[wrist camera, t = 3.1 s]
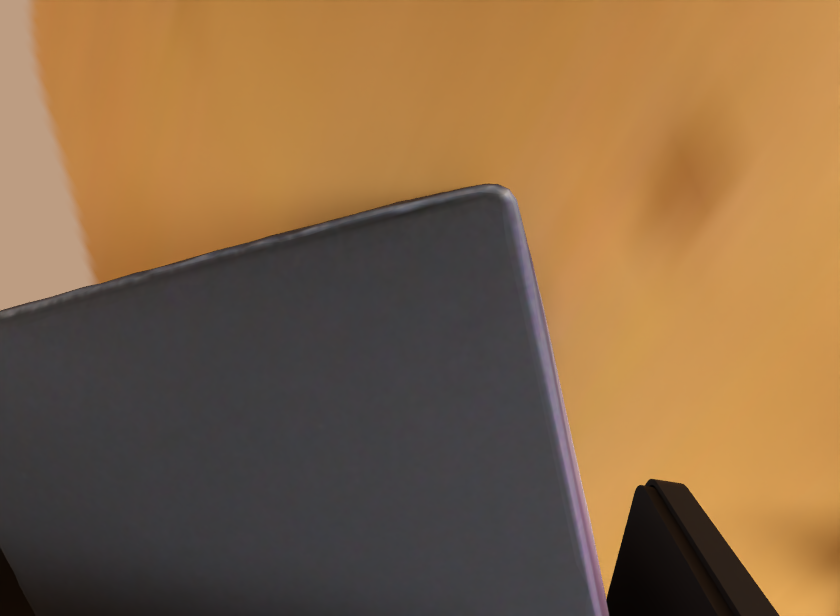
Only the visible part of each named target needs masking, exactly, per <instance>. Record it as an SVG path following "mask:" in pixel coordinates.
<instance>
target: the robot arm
mask: <svg viewBox="0 0 840 616" xmlns="http://www.w3.org/2000/svg"><path fill="white" fill-rule="evenodd" d="M606 602H607V607H608V612H609V616H779V614H778V613H777V612H776V610H775V609H774V607H773V606H772V605H771V603H770V602H769V600H768V599H767V598H766V596H765V595H764V594H763V592H762V591H761V589H760V588H759V587H758V585H757V584H756V582H755V581H754V580H753V578H752V577H751V575H750V574H749V573H748V571H747V570H746V569H745V567H744V566H743V564H742V563H741V562H740V560H739V559H738V557H737V556H736V555H735V553H734V552H733V550H732V549H731V548H730V546H729V545H728V544H727V542H726V541H725V539H724V538H723V537H722V535H721V534H720V532H719V531H718V530H717V528H716V527H715V525H714V524H713V523H712V521H711V520H710V519H709V517H708V516H707V514H706V513H705V512H704V510H703V509H702V507H701V506H700V505H699V503H698V502H697V500H696V499H695V498H694V496H693V495H692V494H691V492H690V491H689V489H688V488H687V487H686V486H685V485H684V484H681V483H674V482H668V481H662V480H656V479H650V480H648V482H647V483H646V485H645V486H643V485H639V486H638V487H637V488H636V491H635V494H634V497H633V501H632V505H631V509H630V513H629V516H628V520H627V524H626V528H625V531H624V535H623V539H622V543H621V546H620V550H619V554H618V558H617V561H616V565H615V569H614V573H613V577H612V580H611V584H610V588H609V592H608V595H607V600H606ZM0 616H36V615H35V614H34V612H33V610H32V608H31V606H30V604H29V602H28V601H27V599H26V597H25V595H24V593H23V591H22V589H21V588H20V586H19V583H18V581H17V578H16V575H15V574H14V572H13V570H12V568H11V566H10V564H9V563H8V561H7V559H6V557H5V555H4V553H3V551H2V550H1V548H0Z"/></svg>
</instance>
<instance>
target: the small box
mask: <svg viewBox="0 0 840 616" xmlns="http://www.w3.org/2000/svg"><path fill="white" fill-rule="evenodd" d="M0 548H1V550H2V551H3V553H4V555H5V557H6V559H7V561H8V563H9V564H10V566H11V568H12V570H13V572H14V574H15V575H16V578H17V581H18V583H19V586H20V588H21V589H22V591H23V593H24V595H25V597H26V599H27V601H28V602H29V604H30V606H31V608H32V610H33V612H34V614H35V615H36V616H609V612H608V607H607V602H606V596H605V591H604V586H603V581H602V576H601V571H600V566H599V561H598V556H597V551H596V546H595V541H594V536H593V531H592V526H591V521H590V517H589V512H588V508H587V504H586V499H585V495H584V490H583V486H582V481H581V477H580V472H579V468H578V463H577V459H576V454H575V450H574V445H573V441H572V436H571V432H570V427H569V423H568V418H567V413H566V409H565V404H564V400H563V395H562V390H561V386H560V381H559V376H558V372H557V367H556V363H555V358H554V353H553V349H552V344H551V340H550V335H549V330H548V326H547V321H546V316H545V312H544V307H543V303H542V299H541V295H540V291H539V287H538V283H537V279H536V275H535V271H534V266H533V262H532V258H531V254H530V251H529V248H528V244H527V239H526V235H525V231H524V227H523V223H522V219H521V215H520V211H519V207H518V203H517V200H516V198H515V197H514V195H513V194H512V193H511V191H510V190H509V189H507V188H505V187H503V186H501V185H499V184H482V185H476V186H471V187H465V188H461V189H457V190H453V191H449V192H442V193H438V194H434V195H429V196H425V197H420V198H415V199H411V200H406V201H401V202H396V203H393V204H390V205H386V206H382V207H379V208H375V209H372V210H368V211H364V212H360V213H357V214H353V215H350V216H346V217H342V218H338V219H334V220H330V221H327V222H324V223H320V224H316V225H312V226H308V227H304V228H300V229H296V230H292V231H288V232H284V233H280V234H276V235H272V236H268V237H265V238H262V239H259V240H255V241H252V242H249V243H245V244H241V245H237V246H233V247H229V248H225V249H221V250H217V251H213V252H210V253H207V254H203V255H200V256H196V257H193V258H190V259H186V260H183V261H179V262H176V263H172V264H169V265H166V266H162V267H158V268H155V269H151V270H147V271H142V272H137V273H134V274H130V275H127V276H124V277H120V278H117V279H114V280H111V281H107V282H104V283H101V284H96V285H91V286H86V287H82V288H79V289H76V290H72V291H69V292H66V293H62V294H59V295H56V296H53V297H49V298H45V299H42V300H37V301H33V302H29V303H25V304H22V305H18V306H15V307H12V308H8V309H4V310H1V311H0Z"/></svg>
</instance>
